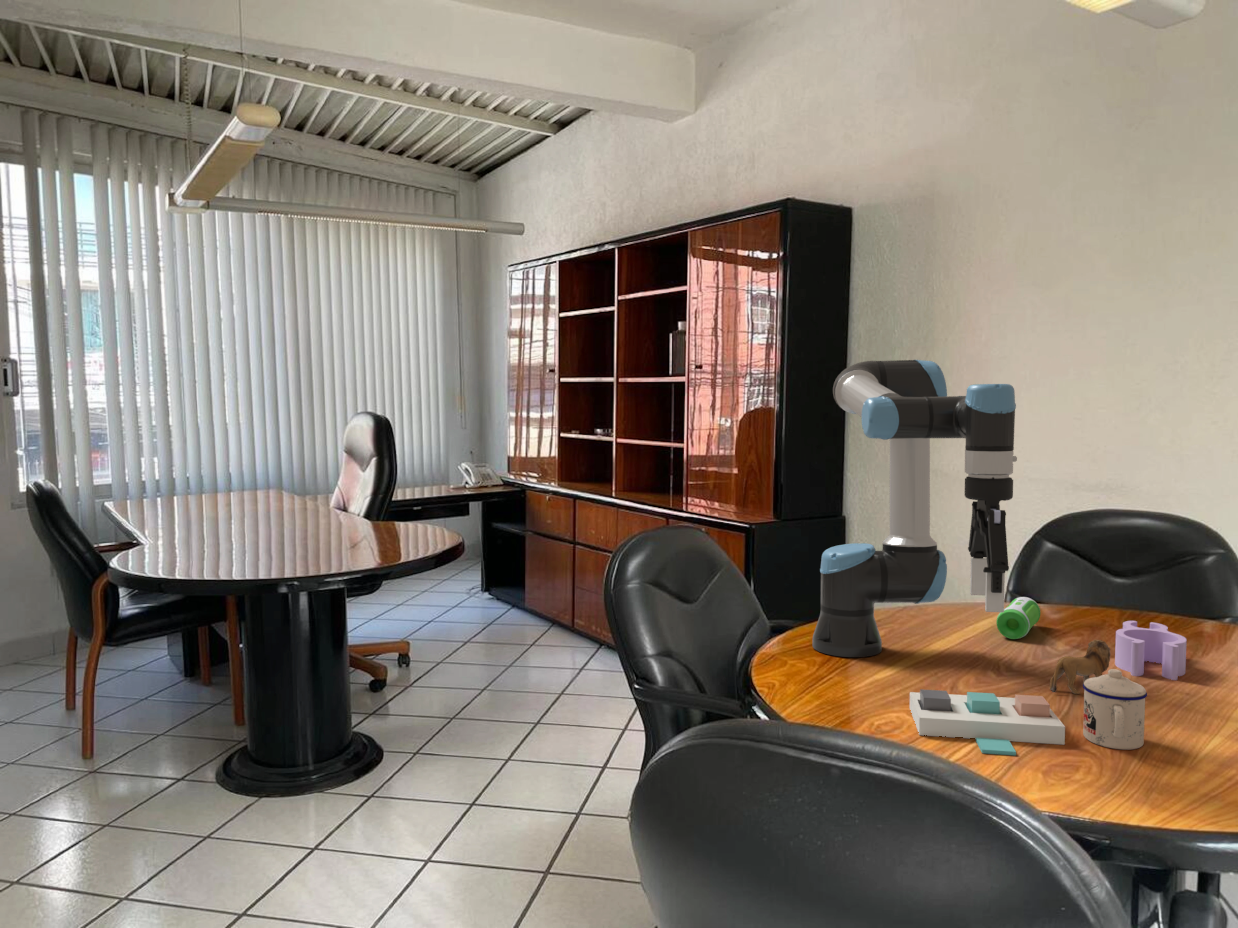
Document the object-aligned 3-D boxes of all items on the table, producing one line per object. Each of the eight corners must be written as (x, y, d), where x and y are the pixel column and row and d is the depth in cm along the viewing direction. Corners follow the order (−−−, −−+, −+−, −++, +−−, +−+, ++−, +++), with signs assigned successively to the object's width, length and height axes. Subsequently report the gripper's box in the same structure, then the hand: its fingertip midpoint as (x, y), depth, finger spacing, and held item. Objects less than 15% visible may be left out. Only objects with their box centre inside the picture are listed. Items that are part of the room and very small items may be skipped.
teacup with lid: (1079, 726, 148) (1081, 659, 147) (1140, 734, 144) (1143, 665, 143) (1085, 752, 137) (1087, 680, 136) (1152, 761, 133) (1155, 687, 132)
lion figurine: (1091, 679, 172) (1093, 635, 172) (1117, 687, 168) (1118, 641, 167) (1041, 691, 166) (1042, 645, 165) (1066, 699, 161) (1067, 652, 161)
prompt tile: (975, 740, 142) (975, 737, 142) (1008, 743, 141) (1008, 739, 141) (982, 753, 137) (982, 749, 137) (1016, 755, 136) (1016, 751, 136)
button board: (909, 708, 157) (909, 691, 157) (1042, 715, 153) (1042, 699, 153) (919, 734, 145) (919, 717, 144) (1064, 744, 140) (1065, 726, 140)
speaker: (1009, 622, 217) (1010, 593, 217) (1041, 627, 213) (1042, 596, 212) (994, 638, 203) (994, 607, 202) (1028, 643, 199) (1028, 611, 198)
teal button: (966, 709, 151) (967, 691, 151) (993, 711, 150) (994, 693, 150) (971, 718, 147) (972, 700, 147) (999, 720, 146) (999, 701, 146)
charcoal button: (919, 706, 153) (920, 689, 153) (946, 708, 152) (946, 690, 152) (923, 715, 148) (923, 697, 148) (950, 717, 148) (950, 699, 147)
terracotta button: (1014, 712, 150) (1015, 694, 149) (1042, 714, 149) (1042, 695, 148) (1021, 721, 145) (1021, 703, 145) (1049, 723, 144) (1049, 704, 144)
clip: (1109, 649, 194) (1110, 618, 193) (1175, 655, 189) (1176, 624, 188) (1118, 674, 176) (1119, 641, 175) (1191, 682, 170) (1192, 648, 170)
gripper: (1031, 482, 133) (1028, 621, 135) (996, 470, 157) (993, 588, 158) (980, 482, 135) (977, 619, 136) (952, 470, 158) (950, 587, 160)
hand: (986, 602), depth 147 cm, fingers open, 12 cm apart
